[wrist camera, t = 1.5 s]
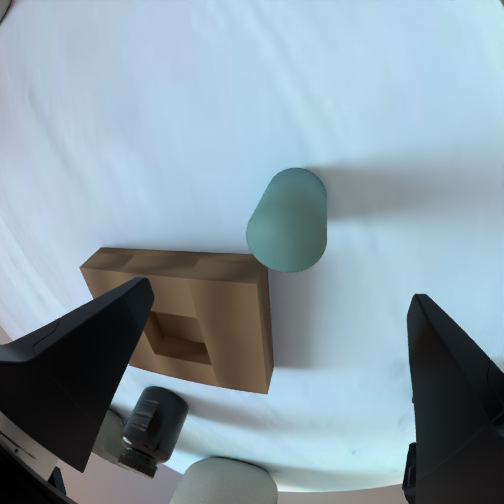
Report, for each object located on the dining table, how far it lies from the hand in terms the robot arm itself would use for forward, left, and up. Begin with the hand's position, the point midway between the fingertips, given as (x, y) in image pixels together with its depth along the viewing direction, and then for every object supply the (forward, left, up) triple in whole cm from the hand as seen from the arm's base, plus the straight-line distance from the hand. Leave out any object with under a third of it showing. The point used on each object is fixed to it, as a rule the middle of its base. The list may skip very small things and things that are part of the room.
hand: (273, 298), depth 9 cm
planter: (+11, +57, -9) cm, 59 cm away
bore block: (+9, +10, -9) cm, 16 cm away
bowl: (+37, +44, -9) cm, 58 cm away
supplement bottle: (+17, +28, -9) cm, 34 cm away
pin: (0, 0, -9) cm, 9 cm away
